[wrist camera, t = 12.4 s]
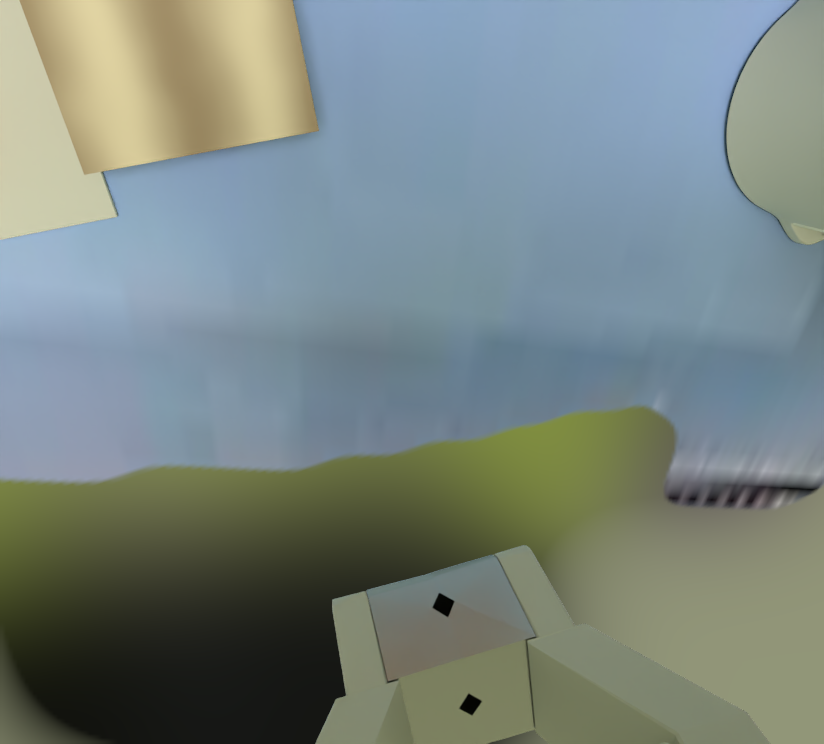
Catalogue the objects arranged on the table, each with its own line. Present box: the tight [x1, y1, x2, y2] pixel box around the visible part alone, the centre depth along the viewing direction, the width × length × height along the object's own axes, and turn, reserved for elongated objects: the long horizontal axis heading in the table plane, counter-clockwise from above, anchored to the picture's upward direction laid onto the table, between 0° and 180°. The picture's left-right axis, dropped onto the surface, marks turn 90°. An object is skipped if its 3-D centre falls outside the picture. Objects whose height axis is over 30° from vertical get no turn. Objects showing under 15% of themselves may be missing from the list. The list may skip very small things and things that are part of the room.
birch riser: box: [19, 0, 319, 175], centre depth 33 cm, size 12×14×4 cm
